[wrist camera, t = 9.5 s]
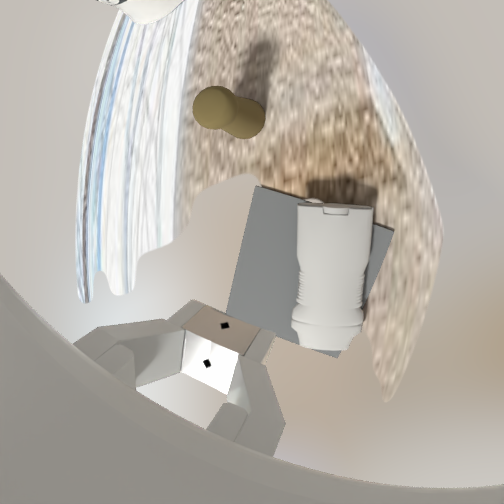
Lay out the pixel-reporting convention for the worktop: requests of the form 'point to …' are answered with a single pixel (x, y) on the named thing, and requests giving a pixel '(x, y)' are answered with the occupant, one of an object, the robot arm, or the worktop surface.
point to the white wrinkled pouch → (331, 273)
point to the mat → (281, 265)
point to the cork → (228, 112)
